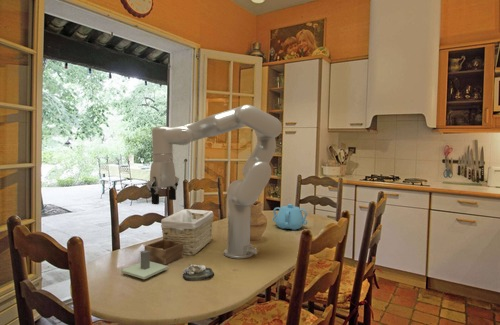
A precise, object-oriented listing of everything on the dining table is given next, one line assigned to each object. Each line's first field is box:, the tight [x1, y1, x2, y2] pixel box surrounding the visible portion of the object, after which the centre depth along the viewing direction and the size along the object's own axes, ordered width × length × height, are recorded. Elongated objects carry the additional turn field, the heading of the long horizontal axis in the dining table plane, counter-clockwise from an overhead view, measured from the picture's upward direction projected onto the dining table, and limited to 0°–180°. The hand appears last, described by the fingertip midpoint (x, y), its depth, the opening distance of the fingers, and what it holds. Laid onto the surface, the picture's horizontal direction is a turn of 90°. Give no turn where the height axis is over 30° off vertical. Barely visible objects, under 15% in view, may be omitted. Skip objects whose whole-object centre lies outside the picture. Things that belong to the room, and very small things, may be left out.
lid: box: [120, 250, 169, 280], centre depth 115 cm, size 11×11×8 cm
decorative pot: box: [272, 203, 308, 231], centre depth 182 cm, size 16×16×14 cm
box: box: [143, 238, 184, 266], centre depth 129 cm, size 11×11×6 cm
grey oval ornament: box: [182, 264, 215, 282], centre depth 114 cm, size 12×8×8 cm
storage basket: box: [160, 208, 214, 256], centre depth 145 cm, size 24×16×15 cm
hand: (164, 201), depth 126 cm, fingers open, 9 cm apart
